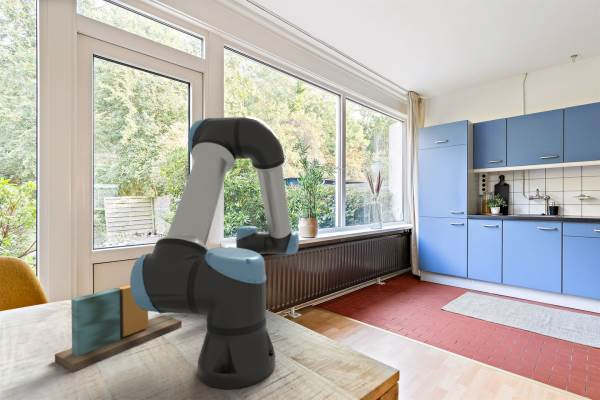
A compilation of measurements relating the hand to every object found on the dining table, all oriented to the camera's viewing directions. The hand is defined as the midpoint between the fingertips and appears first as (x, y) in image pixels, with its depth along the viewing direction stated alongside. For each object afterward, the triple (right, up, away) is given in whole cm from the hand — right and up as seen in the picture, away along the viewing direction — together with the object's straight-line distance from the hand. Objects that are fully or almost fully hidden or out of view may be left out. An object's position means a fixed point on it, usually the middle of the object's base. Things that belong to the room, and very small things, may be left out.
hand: (170, 294), depth 83 cm
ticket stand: (-6, -8, -10) cm, 15 cm away
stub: (-5, -6, -9) cm, 12 cm away
